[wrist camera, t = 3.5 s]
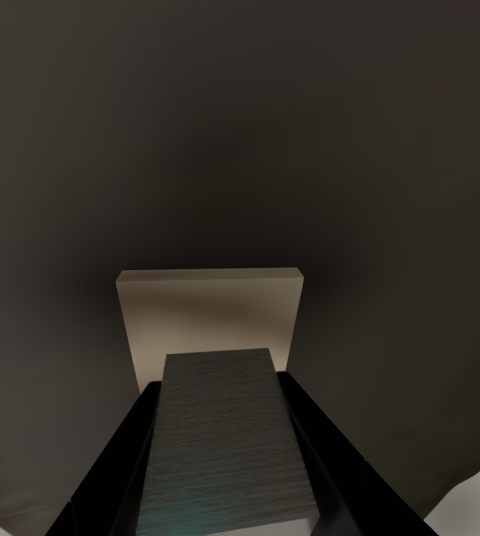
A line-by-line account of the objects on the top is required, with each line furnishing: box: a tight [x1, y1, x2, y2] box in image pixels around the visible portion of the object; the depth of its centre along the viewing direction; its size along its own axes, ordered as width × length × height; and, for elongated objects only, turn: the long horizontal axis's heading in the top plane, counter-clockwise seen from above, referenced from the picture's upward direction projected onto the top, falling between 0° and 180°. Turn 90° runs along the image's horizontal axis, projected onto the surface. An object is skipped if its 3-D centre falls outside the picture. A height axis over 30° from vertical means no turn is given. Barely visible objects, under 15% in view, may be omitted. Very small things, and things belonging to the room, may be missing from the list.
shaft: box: [135, 348, 320, 536], centre depth 11 cm, size 14×4×5 cm, turn 177°
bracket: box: [116, 267, 304, 395], centre depth 14 cm, size 20×10×10 cm, turn 177°
